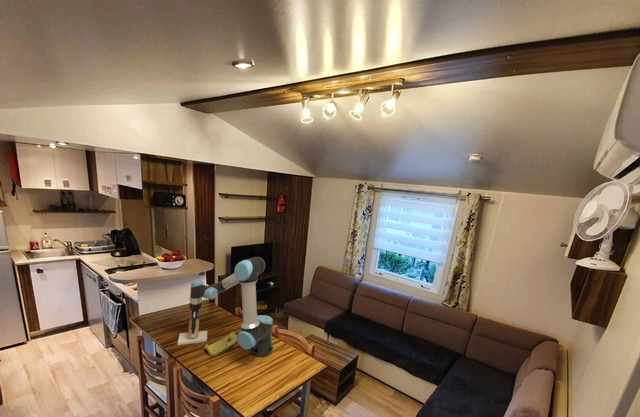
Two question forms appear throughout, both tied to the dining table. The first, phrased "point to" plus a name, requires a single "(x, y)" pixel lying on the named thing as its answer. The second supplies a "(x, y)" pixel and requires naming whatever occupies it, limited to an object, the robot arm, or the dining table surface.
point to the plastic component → (221, 344)
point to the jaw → (191, 327)
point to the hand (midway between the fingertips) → (193, 334)
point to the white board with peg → (185, 340)
